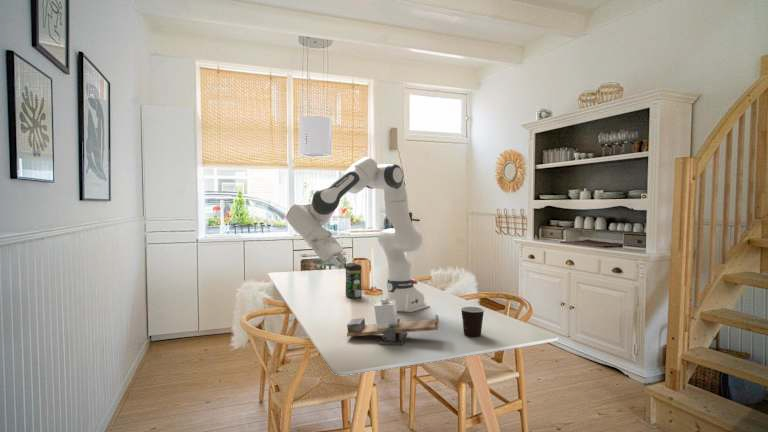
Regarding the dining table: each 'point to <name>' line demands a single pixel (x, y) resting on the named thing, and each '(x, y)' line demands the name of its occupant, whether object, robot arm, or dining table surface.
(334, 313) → the dining table surface
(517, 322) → the dining table surface
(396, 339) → the fulcrum
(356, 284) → the coffee jar
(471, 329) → the coffee mug
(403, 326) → the beam
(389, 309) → the block
